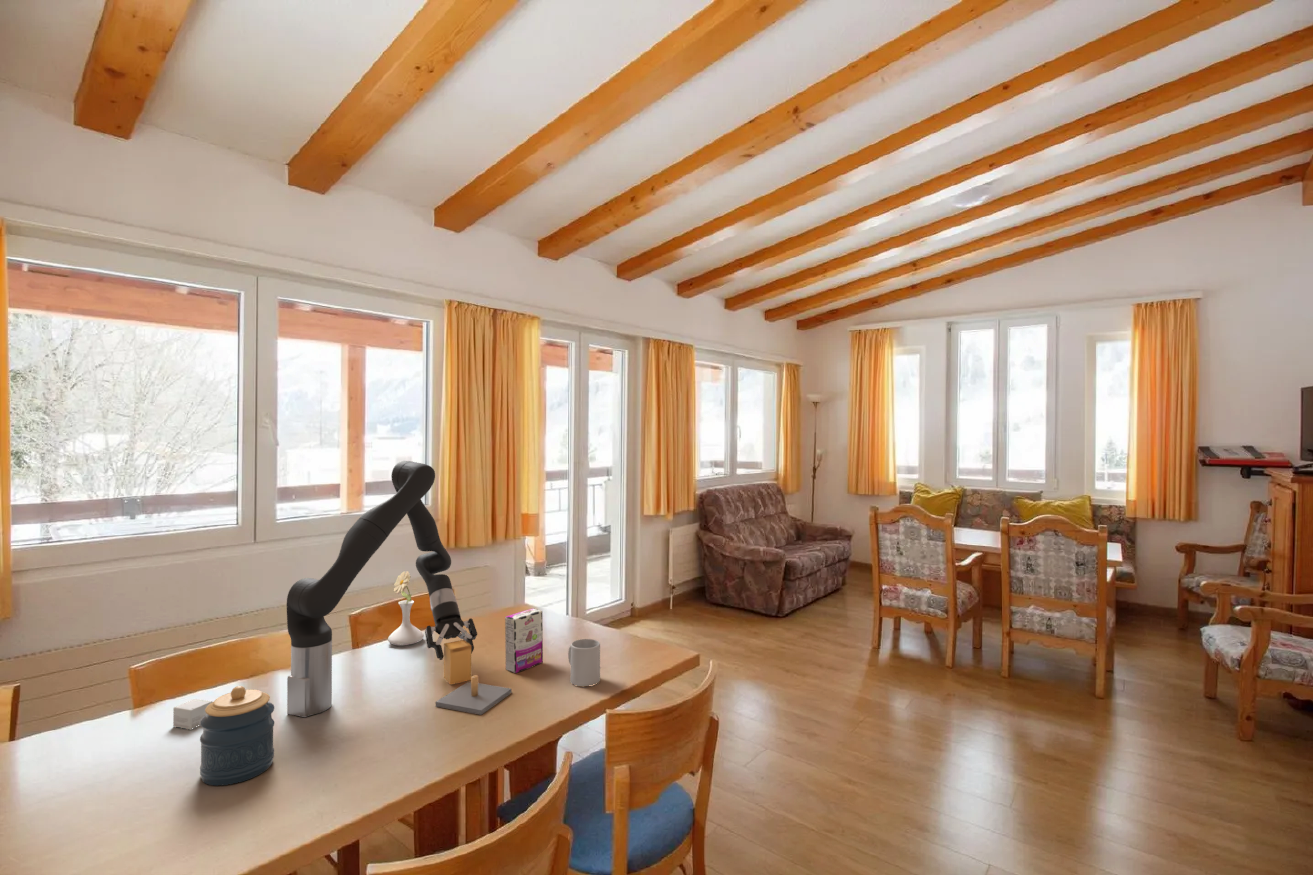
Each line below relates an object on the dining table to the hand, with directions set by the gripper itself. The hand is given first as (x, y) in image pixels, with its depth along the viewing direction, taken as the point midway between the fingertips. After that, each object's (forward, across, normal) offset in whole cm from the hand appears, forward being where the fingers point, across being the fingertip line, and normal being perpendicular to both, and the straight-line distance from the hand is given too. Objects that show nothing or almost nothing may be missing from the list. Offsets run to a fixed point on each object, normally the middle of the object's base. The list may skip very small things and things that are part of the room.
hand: (456, 655), depth 179 cm
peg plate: (+17, -1, -8) cm, 19 cm away
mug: (+20, +29, -11) cm, 37 cm away
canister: (+20, -54, -11) cm, 58 cm away
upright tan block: (+5, 0, +4) cm, 7 cm away
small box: (-1, -62, +11) cm, 63 cm away
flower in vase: (-23, -4, +32) cm, 39 cm away
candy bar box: (+7, +20, +3) cm, 21 cm away
